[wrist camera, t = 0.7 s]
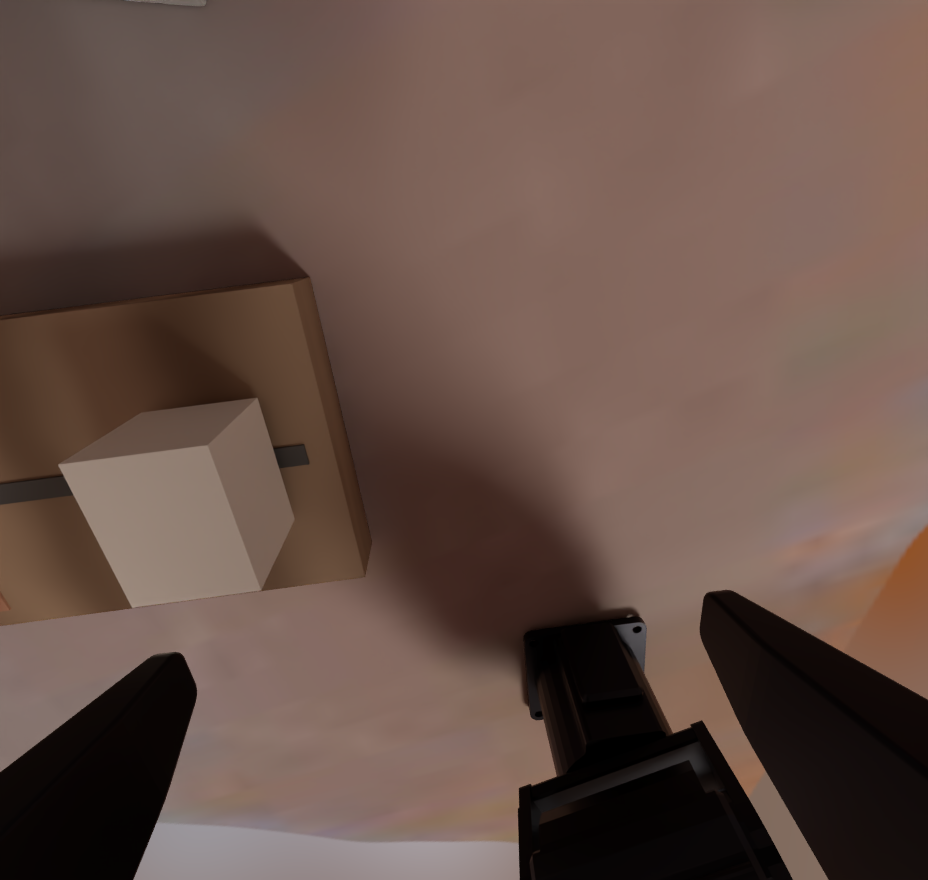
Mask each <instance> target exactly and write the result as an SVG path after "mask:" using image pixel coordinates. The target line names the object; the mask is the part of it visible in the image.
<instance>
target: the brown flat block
mask: <svg viewBox="0 0 928 880" xmlns="http://www.w3.org/2000/svg"><path fill="white" fill-rule="evenodd" d="M251 398H258V401H259V404H260V408H261V411H262V414H263V417H264V421H265V424H266V427H267V431H268V434H269V437H270V440H271V444H272V447H273V450H274V453H275V457H276V460H277V463H278V466H279V470H280V473H281V476H282V479H283V483H284V486H285V489H286V493H287V496H288V499H289V502H290V506H291V509H292V512H293V515H294V519H295V520H294V522H293V524H292V526H291V528H290V530H289V533H288V535H287V537H286V539H285V541H284V543H283V545H282V547H281V549H280V552H279V554H278V556H277V558H276V560H275V562H274V564H273V566H272V568H271V571H270V573H269V575H268V577H267V579H266V581H265V583H264V585H263V587H262V590H261V591H265V590H272V589H280V588H287V587H295V586H302V585H310V584H317V583H325V582H332V581H340V580H347V579H354V578H362V577H365V575H366V570H367V565H368V560H369V554H370V549H371V544H372V541H371V536H370V532H369V528H368V523H367V519H366V515H365V511H364V506H363V502H362V498H361V493H360V489H359V485H358V481H357V476H356V472H355V468H354V464H353V459H352V455H351V451H350V446H349V442H348V438H347V434H346V429H345V425H344V421H343V416H342V412H341V408H340V404H339V399H338V395H337V391H336V387H335V382H334V378H333V374H332V369H331V365H330V361H329V357H328V352H327V348H326V344H325V339H324V335H323V331H322V327H321V322H320V318H319V314H318V309H317V305H316V301H315V297H314V292H313V288H312V284H311V280H310V277H305V278H297V279H289V280H281V281H273V282H265V283H257V284H250V285H242V286H234V287H226V288H218V289H210V290H202V291H194V292H186V293H178V294H170V295H162V296H154V297H146V298H138V299H130V300H122V301H114V302H106V303H98V304H90V305H82V306H74V307H66V308H58V309H50V310H42V311H34V312H27V313H19V314H11V315H3V316H0V626H3V625H11V624H18V623H26V622H33V621H41V620H48V619H56V618H63V617H71V616H78V615H86V614H93V613H101V612H108V611H116V610H123V609H130V608H132V607H131V605H130V603H129V601H128V599H127V597H126V595H125V593H124V591H123V589H122V587H121V585H120V583H119V582H118V580H117V578H116V576H115V574H114V572H113V570H112V568H111V566H110V564H109V562H108V560H107V558H106V556H105V555H104V553H103V551H102V549H101V547H100V545H99V543H98V541H97V539H96V537H95V535H94V533H93V531H92V529H91V528H90V526H89V524H88V522H87V520H86V518H85V516H84V514H83V512H82V510H81V508H80V506H79V504H78V502H77V501H76V499H75V497H74V495H73V493H72V491H71V489H70V487H69V485H68V483H67V481H66V479H65V477H64V475H63V473H62V472H61V470H60V468H59V466H58V464H60V463H61V462H63V461H65V460H66V459H68V458H69V457H71V456H73V455H74V454H76V453H77V452H79V451H81V450H82V449H84V448H85V447H87V446H89V445H90V444H92V443H93V442H95V441H97V440H98V439H100V438H101V437H103V436H105V435H106V434H108V433H109V432H111V431H113V430H114V429H116V428H117V427H119V426H121V425H122V424H124V423H125V422H127V421H129V420H130V419H132V418H133V417H135V416H137V415H138V414H140V413H142V412H150V411H157V410H165V409H173V408H181V407H188V406H196V405H204V404H212V403H220V402H227V401H235V400H243V399H251ZM254 592H257V591H254ZM247 593H250V592H247ZM239 594H242V593H239ZM232 595H235V594H232ZM224 596H228V595H224ZM217 597H220V596H217ZM210 598H213V597H210ZM202 599H205V598H202ZM195 600H198V599H195ZM187 601H190V600H187ZM180 602H183V601H180ZM172 603H175V602H172ZM165 604H168V603H165ZM157 605H160V604H157ZM150 606H153V605H150ZM142 607H145V606H142ZM135 608H138V607H135Z"/></svg>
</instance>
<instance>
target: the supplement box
mask: <svg viewBox="0 0 928 880" xmlns="http://www.w3.org/2000/svg"><path fill="white" fill-rule="evenodd" d="M125 1H135V2H149V3H164V4H170V5H189V6H204V5H206V1H207V0H125Z"/></svg>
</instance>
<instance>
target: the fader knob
mask: <svg viewBox="0 0 928 880" xmlns="http://www.w3.org/2000/svg"><path fill="white" fill-rule="evenodd" d="M58 466H59V468H60V470H61V472H62V473H63V475H64V477H65V479H66V481H67V483H68V485H69V487H70V489H71V491H72V493H73V495H74V497H75V499H76V501H77V502H78V504H79V506H80V508H81V510H82V512H83V514H84V516H85V518H86V520H87V522H88V524H89V526H90V528H91V529H92V531H93V533H94V535H95V537H96V539H97V541H98V543H99V545H100V547H101V549H102V551H103V553H104V555H105V556H106V558H107V560H108V562H109V564H110V566H111V568H112V570H113V572H114V574H115V576H116V578H117V580H118V582H119V583H120V585H121V587H122V589H123V591H124V593H125V595H126V597H127V599H128V601H129V603H130V605H131V607H132V608H135V607H142V606H150V605H157V604H165V603H172V602H180V601H187V600H195V599H202V598H210V597H217V596H224V595H232V594H239V593H247V592H254V591H261V590H262V587H263V585H264V583H265V581H266V579H267V577H268V575H269V573H270V571H271V568H272V566H273V564H274V562H275V560H276V558H277V556H278V554H279V552H280V549H281V547H282V545H283V543H284V541H285V539H286V537H287V535H288V533H289V530H290V528H291V526H292V524H293V522H294V520H295V519H294V515H293V512H292V509H291V506H290V502H289V499H288V496H287V493H286V489H285V486H284V483H283V479H282V476H281V473H280V470H279V466H278V463H277V460H276V457H275V453H274V450H273V447H272V444H271V440H270V437H269V434H268V431H267V427H266V424H265V421H264V417H263V414H262V411H261V408H260V404H259V401H258V398H251V399H243V400H235V401H227V402H220V403H212V404H204V405H196V406H188V407H181V408H173V409H165V410H157V411H150V412H142V413H140V414H138V415H137V416H135V417H133V418H132V419H130V420H129V421H127V422H125V423H124V424H122V425H121V426H119V427H117V428H116V429H114V430H113V431H111V432H109V433H108V434H106V435H105V436H103V437H101V438H100V439H98V440H97V441H95V442H93V443H92V444H90V445H89V446H87V447H85V448H84V449H82V450H81V451H79V452H77V453H76V454H74V455H73V456H71V457H69V458H68V459H66V460H65V461H63V462H61V463H60V464H58Z"/></svg>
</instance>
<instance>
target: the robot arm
mask: <svg viewBox="0 0 928 880" xmlns="http://www.w3.org/2000/svg"><path fill="white" fill-rule="evenodd" d="M636 626H637V627H636ZM646 631H647V628H646V625H645V623H644V621H643V620H642V619H641V618H640V617H630V618H623V619H615V620H608V621H600V622H593V623H586V624H578V625H571V626H564V627H556V628H549V629H542V630H534V631H530V632H527V633H526V634H525V635H524V638H523V642H524V653H525V665H526V677H527V689H528V701H529V710H530V715H531V718H533V719H535V720H543V719H544V723H545V727H546V731H547V736H548V740H549V744H550V749H551V753H552V757H553V762H554V766H555V770H556V775H557V777H554V778H552V779H549V780H546V781H544V782H541V783H538V784H536V785H533V786H532V785H531V784H529V785H526V786H523V787H520V788H519V808H518V829H519V867H520V880H793V879H792V877H791V875H790V873H789V871H788V869H787V868H786V866H785V864H784V862H783V860H782V858H781V856H780V854H779V852H778V850H777V849H776V847H775V845H774V843H773V841H772V839H771V837H770V836H769V834H768V832H767V830H766V828H765V826H764V825H763V823H762V821H761V819H760V817H759V816H758V814H757V812H756V810H755V809H754V807H753V805H752V804H751V802H750V800H749V798H748V797H747V795H746V793H745V792H744V790H743V788H742V787H741V785H740V783H739V782H738V780H737V778H736V777H735V775H734V773H733V771H732V770H731V768H730V766H729V765H728V763H727V761H726V760H725V758H724V756H723V755H722V753H721V751H720V750H719V748H718V746H717V745H716V743H715V741H714V740H713V738H712V736H711V734H710V733H709V731H708V729H707V728H706V726H705V724H704V723H703V721H702V720H701V721H699V722H696V723H693V724H691V727H690V728H687V729H684V730H682V731H679V732H676V733H674V734H673V732H672V730H671V728H670V726H669V724H668V722H667V720H666V718H665V716H664V714H663V711H662V709H661V707H660V705H659V703H658V701H657V699H656V697H655V695H654V693H653V691H652V689H651V687H650V685H649V683H648V680H647V678H646V676H645V674H644V666H645V648H646ZM700 636H701V639H702V642H703V645H704V647H705V649H706V651H707V653H708V656H709V658H710V660H711V662H712V664H713V667H714V669H715V671H716V673H717V675H718V677H719V680H720V682H721V684H722V686H723V688H724V691H725V693H726V695H727V697H728V699H729V702H730V704H731V706H732V708H733V710H734V712H735V715H736V717H737V719H738V721H739V723H740V725H741V727H742V729H743V731H744V733H745V735H746V737H747V739H748V740H749V742H750V744H751V746H752V748H753V749H754V751H755V753H756V755H757V756H758V758H759V760H760V762H761V763H762V765H763V767H764V768H765V770H766V772H767V774H768V775H769V777H770V779H771V781H772V782H773V784H774V786H775V787H776V789H777V791H778V793H779V794H780V796H781V798H782V799H783V801H784V803H785V805H786V807H787V808H788V810H789V812H790V813H791V815H792V817H793V819H794V820H795V822H796V824H797V825H798V827H799V829H800V831H801V832H802V834H803V836H804V838H805V839H806V841H807V843H808V845H809V846H810V848H811V850H812V851H813V853H814V855H815V856H816V858H817V860H818V862H819V864H820V865H821V867H822V869H823V871H824V872H825V874H826V876H827V877H828V879H829V880H928V700H927V699H926V698H924V697H922V696H920V695H919V694H917V693H915V692H913V691H911V690H910V689H908V688H906V687H904V686H902V685H901V684H899V683H897V682H895V681H893V680H892V679H890V678H888V677H886V676H885V675H883V674H881V673H879V672H877V671H876V670H874V669H872V668H870V667H868V666H867V665H865V664H863V663H861V662H859V661H858V660H856V659H854V658H852V657H850V656H849V655H847V654H845V653H843V652H842V651H840V650H838V649H836V648H834V647H833V646H831V645H829V644H827V643H825V642H824V641H822V640H820V639H818V638H816V637H815V636H813V635H811V634H809V633H807V632H806V631H804V630H802V629H800V628H799V627H797V626H795V625H793V624H791V623H790V622H788V621H786V620H784V619H782V618H781V617H779V616H777V615H775V614H773V613H772V612H770V611H768V610H766V609H764V608H763V607H761V606H759V605H757V604H756V603H754V602H752V601H750V600H748V599H747V598H745V597H743V596H741V595H739V594H738V593H736V592H734V591H731V590H721V591H713V592H708V593H706V595H705V596H704V599H703V606H702V614H701V621H700ZM533 640H535V641H533ZM196 698H197V687H196V683H195V681H194V679H193V676H192V674H191V672H190V669H189V667H188V665H187V663H186V660H185V658H184V656H183V655H182V654H181V653H179V652H171V653H162V654H156V655H153V656H151V657H150V658H148V659H147V660H146V661H144V662H143V663H142V664H140V665H139V666H138V667H137V668H135V669H134V670H133V671H131V672H130V673H129V674H127V675H126V676H125V677H124V678H122V679H121V680H120V681H118V682H117V683H116V684H114V685H113V686H112V687H111V688H109V689H108V690H107V691H105V692H104V693H103V694H101V695H100V696H99V697H98V698H96V699H95V700H94V701H92V702H91V703H90V704H88V705H87V706H86V707H85V708H83V709H82V710H81V711H79V712H78V713H77V714H75V715H74V716H73V717H72V718H70V719H69V720H68V721H66V722H65V723H64V724H62V725H61V726H60V727H59V728H57V729H56V730H55V731H53V732H52V733H51V734H49V735H48V736H47V737H46V738H44V739H43V740H42V741H40V742H39V743H38V744H36V745H35V746H34V747H33V748H31V749H30V750H29V751H27V752H26V753H25V754H23V755H22V756H21V757H20V758H18V759H17V760H16V761H14V762H13V763H12V764H10V765H9V766H8V767H7V768H5V769H4V770H3V771H1V772H0V880H133V879H134V877H135V874H136V872H137V869H138V867H139V864H140V862H141V860H142V857H143V854H144V852H145V849H146V847H147V845H148V842H149V840H150V837H151V835H152V832H153V830H154V827H155V825H156V823H157V820H158V818H159V815H160V812H161V810H162V807H163V804H164V802H165V799H166V796H167V793H168V790H169V787H170V784H171V781H172V778H173V775H174V771H175V768H176V765H177V762H178V758H179V755H180V752H181V748H182V745H183V742H184V739H185V735H186V732H187V729H188V726H189V722H190V719H191V716H192V712H193V709H194V706H195V703H196Z"/></svg>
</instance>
